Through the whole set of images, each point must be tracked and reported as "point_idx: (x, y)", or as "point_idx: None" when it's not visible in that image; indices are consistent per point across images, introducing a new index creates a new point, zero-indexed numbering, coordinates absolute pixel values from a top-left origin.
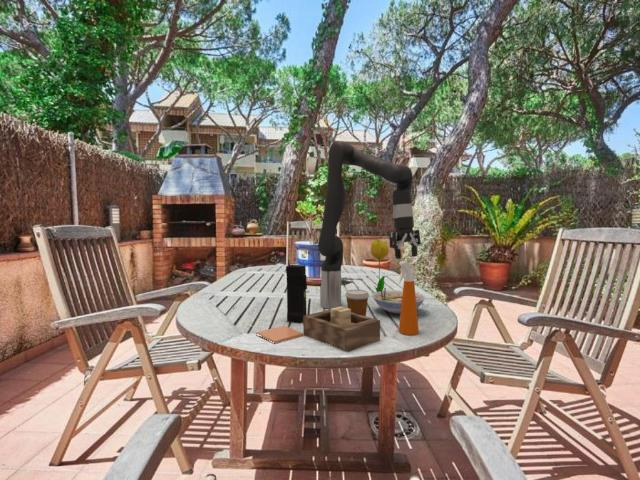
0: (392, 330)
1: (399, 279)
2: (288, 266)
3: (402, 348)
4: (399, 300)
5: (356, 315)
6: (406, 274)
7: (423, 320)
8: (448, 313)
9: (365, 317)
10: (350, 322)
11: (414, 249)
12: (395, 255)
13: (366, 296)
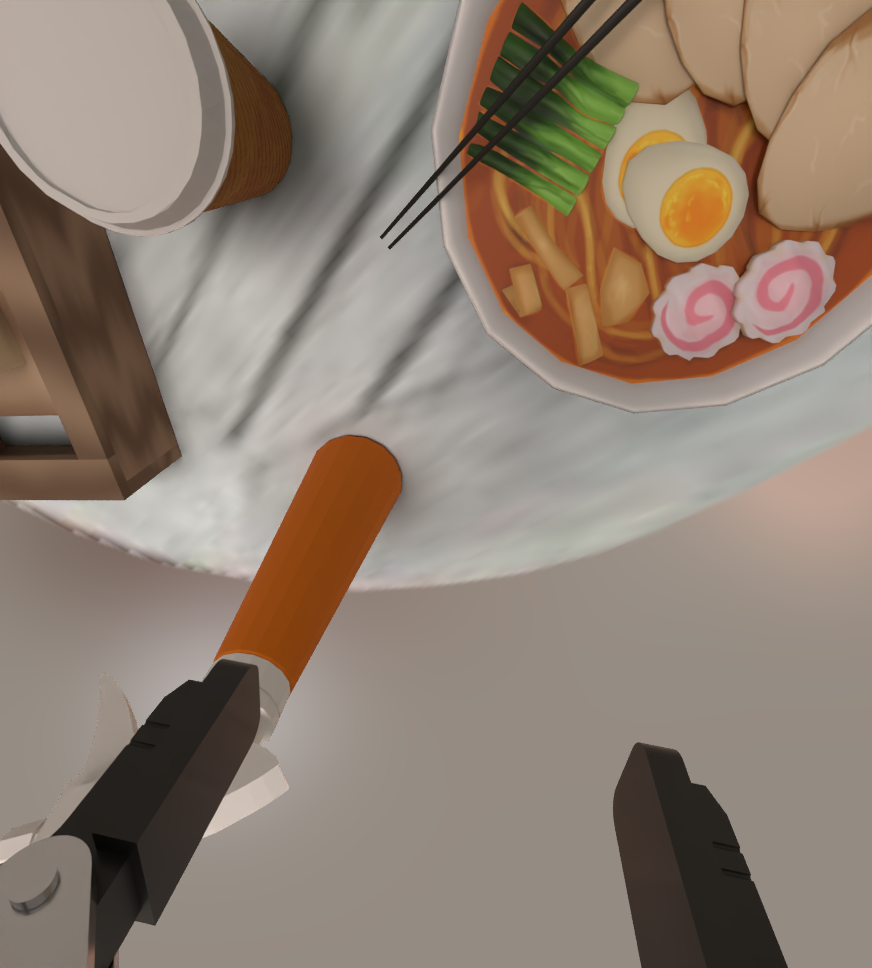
0: (311, 412)
1: (103, 705)
2: None
3: (207, 556)
4: (631, 219)
5: (38, 359)
6: None
7: (584, 416)
8: (844, 434)
9: (73, 421)
10: (6, 369)
11: (652, 953)
12: (156, 717)
13: (159, 227)
